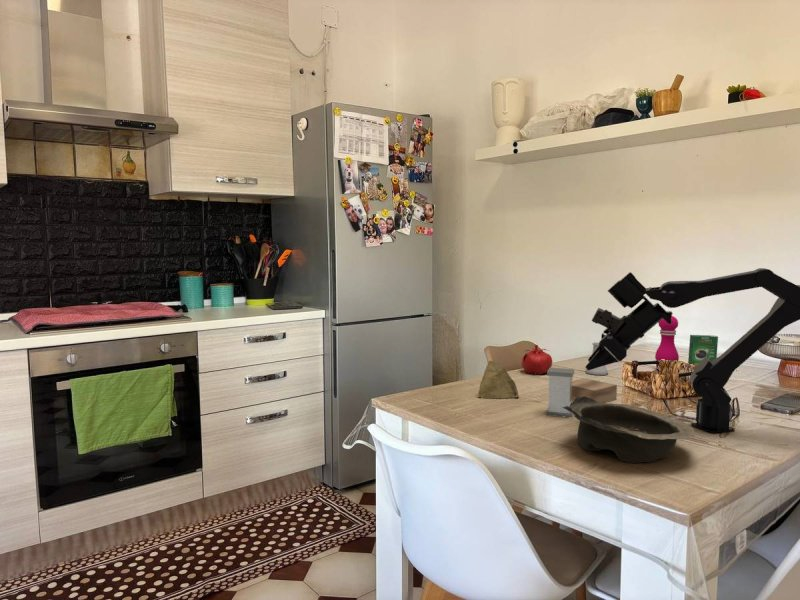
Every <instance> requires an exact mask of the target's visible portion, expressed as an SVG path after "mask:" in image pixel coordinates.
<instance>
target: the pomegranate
mask: <svg viewBox="0 0 800 600" xmlns="http://www.w3.org/2000/svg"><path fill="white" fill-rule="evenodd" d="M538 348H539V345H538V344H535V345H534V347H532V348H531V349H532V350H531V349H526V350H525V354H524V355H523V356H522V358H521V366H522V368H523V370H524V372H526V373H528V374H530V373H531V374H530V375H537V374H538V375H543V374H546V373H547V371H548V369H549V368H552V367H553V358H552V355H550V354H549V353H547V352H549V350H548V349H546V348H539V349H538ZM527 351H528V352H527ZM545 351H547V352H545Z"/></svg>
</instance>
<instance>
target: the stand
mask: <svg viewBox="0 0 800 600" xmlns="http://www.w3.org/2000/svg"><path fill="white" fill-rule="evenodd" d="M617 390H618V385H617V384H614V383H608V382H603V381H600V380H599V381H598V380H594V379H589V378H582V379H578V380H572V398H571V401H575V399H576V398H581V397H584V396H586V397H587V398H592V399H593V400H595V401H597V402H599V403H602V404H604V403H609V402H613V401H616V400H617Z"/></svg>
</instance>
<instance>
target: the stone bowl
mask: <svg viewBox="0 0 800 600" xmlns="http://www.w3.org/2000/svg"><path fill="white" fill-rule="evenodd" d="M563 408H564V409H567V410H568V411H570V412H571V413H573V414H572V415H573V416H574V418H575V419H576V420H578V421H579V425H578V429H577V435H576V436H577V437H576V438H577V443H578V446H580V447H581V448H582V449H584V450H587V451H588V450H589V451H595V452H596V451H602V450H611V451H613V452H614V453H615V455H616V456H617V458H618V459H619V460H620V461H622V462H627V463H630V464H639V463H641V462H644V463H647V464H649V463H653V462H657V460H660V459H663V458H664V459H665V457H666V458H667V457H668V455H669V454H670V452H671V451H672V450H673V448H674V447H675V445H676V444H677V441H678V440H679V441H680V440H681V441H682V440H685V439H689V438H695V435H694V434H695V430H694V429H693V427H692V425H690V424H688V423H687V422H684V421H680V420H678V418H675V417H673V416H671V415H667V414H664V413H660V412H657V411H654V410H653V411H652V410H650V409H646V408H645V407H639V406H634V405H630V404H622V403H611V402H610V403H609V402H606V403H599V402H597V401H595V400H593V399H592V398H587V397H586V396H584V397H581V398H576V399H575V401H574V400H572V401H571V404H570V406H569V407H568V406H566V407H563Z"/></svg>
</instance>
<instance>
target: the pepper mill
mask: <svg viewBox="0 0 800 600" xmlns="http://www.w3.org/2000/svg"><path fill="white" fill-rule="evenodd" d="M667 311H668V312H669V311H670V310H667ZM657 324H658V327H659V328H660V330H659V335H660V338H661V339H660V344H659V346H658V347H657V349H656V351H655V355H654V358H655V361H657V360H661V359H665V360H677V361H680V357H679V356H680V355H679V352H678V350H677V346H676V344H675V335H677V330H676V329H678V327H679V320H678V319H677V317H675V316H673V315H672V317H671V324H668V323H667V322H666V321H665V320H664V319H662V320H661V321H659V322H658V323H657Z"/></svg>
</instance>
